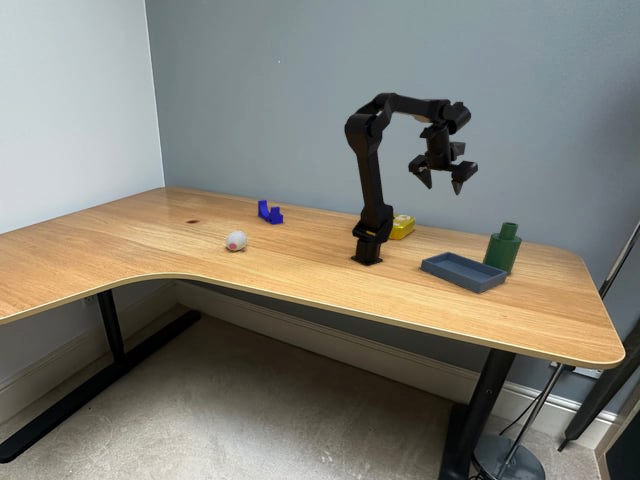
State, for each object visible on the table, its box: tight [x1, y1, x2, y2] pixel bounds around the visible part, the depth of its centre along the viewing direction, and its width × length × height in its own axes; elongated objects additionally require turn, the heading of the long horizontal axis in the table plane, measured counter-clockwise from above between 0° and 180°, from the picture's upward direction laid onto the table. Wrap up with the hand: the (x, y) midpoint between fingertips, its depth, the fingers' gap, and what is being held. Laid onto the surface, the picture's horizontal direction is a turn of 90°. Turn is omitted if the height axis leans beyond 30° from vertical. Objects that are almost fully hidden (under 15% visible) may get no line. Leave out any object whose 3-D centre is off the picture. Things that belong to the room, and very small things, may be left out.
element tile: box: [367, 212, 416, 241], centre depth 128 cm, size 15×15×5 cm
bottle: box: [482, 221, 523, 277], centre depth 96 cm, size 7×7×13 cm
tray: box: [419, 251, 508, 294], centre depth 96 cm, size 11×16×3 cm
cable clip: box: [257, 199, 284, 226], centre depth 139 cm, size 12×4×6 cm, turn 25°
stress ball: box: [225, 230, 248, 253], centre depth 113 cm, size 8×8×7 cm
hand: (443, 191), depth 112 cm, fingers open, 9 cm apart
